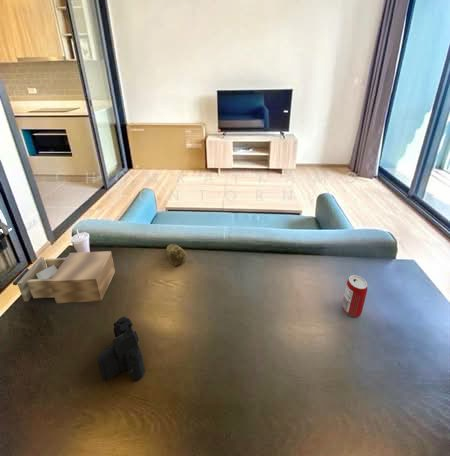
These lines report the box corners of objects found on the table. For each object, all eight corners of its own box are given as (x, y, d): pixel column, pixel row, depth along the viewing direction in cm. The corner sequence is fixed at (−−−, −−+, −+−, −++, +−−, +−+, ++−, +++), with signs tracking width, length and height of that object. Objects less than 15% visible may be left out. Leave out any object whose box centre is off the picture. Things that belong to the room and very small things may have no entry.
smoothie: (72, 261, 99) (63, 232, 94) (83, 250, 105) (76, 222, 100) (86, 263, 98) (79, 233, 93) (97, 251, 104) (90, 223, 99)
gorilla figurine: (95, 349, 69) (89, 326, 65) (131, 328, 74) (126, 306, 71) (108, 406, 57) (101, 382, 54) (149, 376, 62) (145, 352, 59)
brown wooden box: (56, 303, 82) (48, 281, 78) (75, 273, 94) (70, 252, 90) (101, 301, 82) (96, 279, 79) (115, 271, 94) (111, 251, 91)
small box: (39, 284, 86) (35, 273, 85) (58, 274, 90) (54, 263, 89) (44, 293, 83) (40, 282, 81) (63, 282, 87) (60, 272, 85)
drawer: (10, 302, 81) (3, 284, 79) (34, 274, 92) (28, 257, 89) (66, 299, 82) (60, 281, 79) (83, 272, 93) (78, 255, 90)
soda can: (364, 312, 78) (372, 283, 74) (354, 321, 75) (361, 291, 71) (348, 299, 82) (354, 271, 78) (338, 307, 80) (344, 278, 75)
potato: (187, 249, 105) (186, 233, 102) (187, 272, 93) (186, 255, 90) (167, 251, 104) (165, 235, 101) (165, 275, 92) (163, 258, 89)
